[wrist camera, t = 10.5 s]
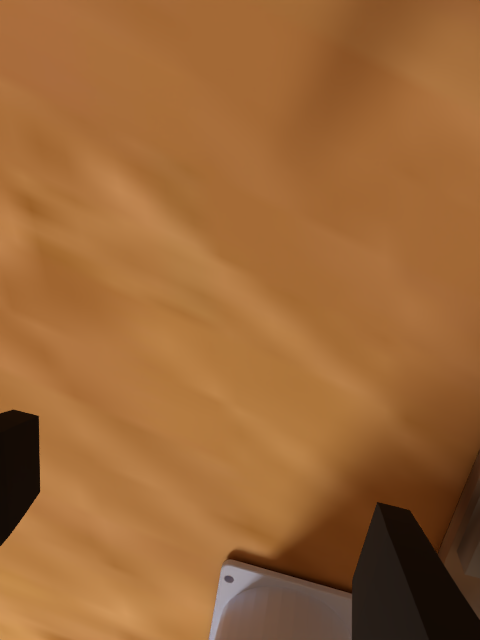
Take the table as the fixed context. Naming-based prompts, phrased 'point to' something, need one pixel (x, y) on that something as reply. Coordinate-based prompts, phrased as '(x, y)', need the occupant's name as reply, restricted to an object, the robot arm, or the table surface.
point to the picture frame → (465, 541)
